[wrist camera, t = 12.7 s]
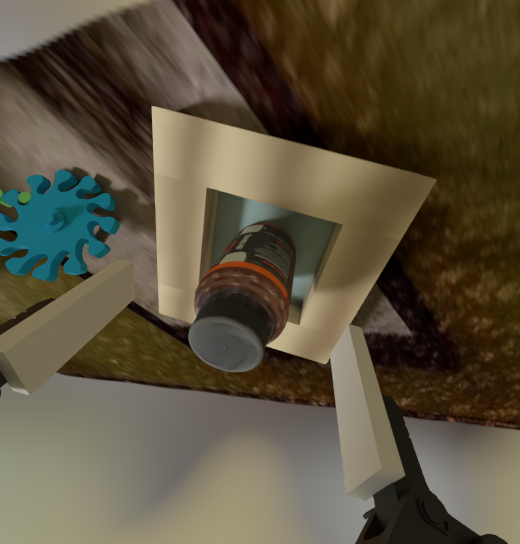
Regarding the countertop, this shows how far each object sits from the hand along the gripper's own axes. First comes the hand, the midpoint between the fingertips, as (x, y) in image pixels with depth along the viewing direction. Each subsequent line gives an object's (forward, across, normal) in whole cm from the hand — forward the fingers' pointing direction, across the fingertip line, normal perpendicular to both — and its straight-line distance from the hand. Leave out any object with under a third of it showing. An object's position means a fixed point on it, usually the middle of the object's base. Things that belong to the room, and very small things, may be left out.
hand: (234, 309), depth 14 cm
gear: (+10, -18, -1) cm, 20 cm away
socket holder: (+9, 0, 0) cm, 9 cm away
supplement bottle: (+9, 0, 0) cm, 9 cm away
